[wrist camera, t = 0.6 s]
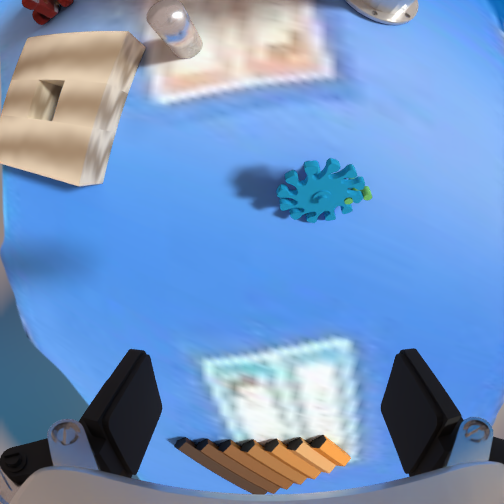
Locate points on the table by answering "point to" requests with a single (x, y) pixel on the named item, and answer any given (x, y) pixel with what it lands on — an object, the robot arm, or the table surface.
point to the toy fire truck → (45, 8)
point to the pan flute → (266, 461)
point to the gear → (322, 191)
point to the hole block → (68, 103)
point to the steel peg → (175, 28)
